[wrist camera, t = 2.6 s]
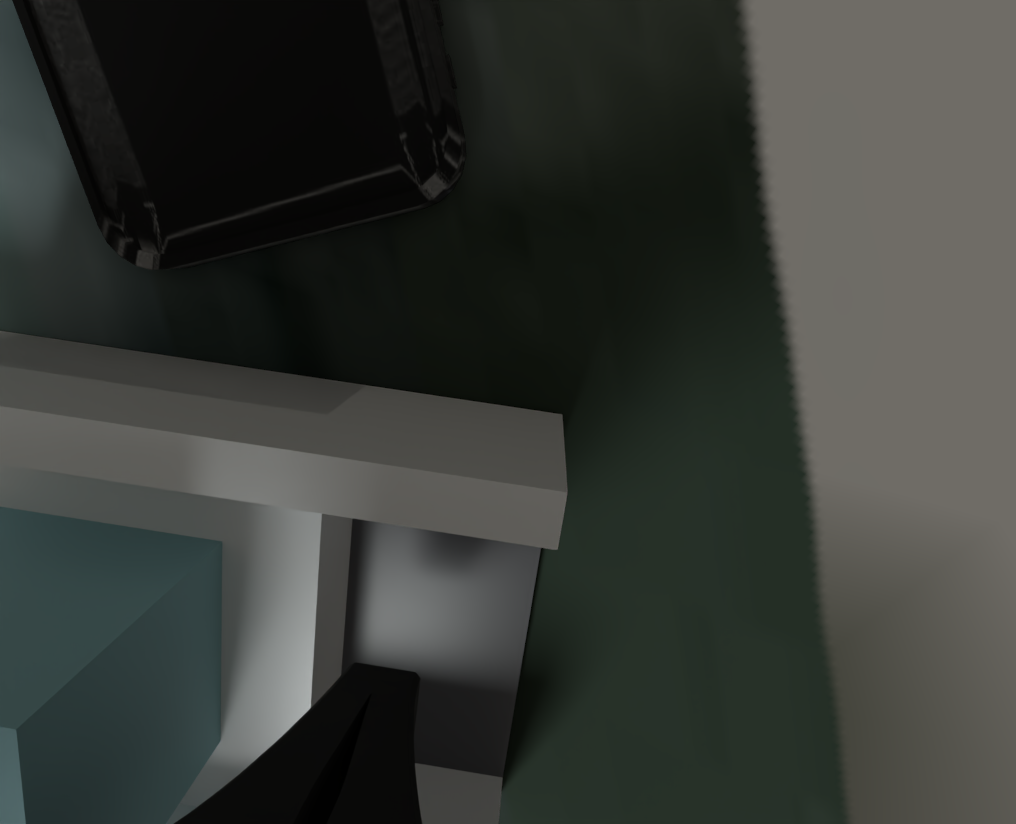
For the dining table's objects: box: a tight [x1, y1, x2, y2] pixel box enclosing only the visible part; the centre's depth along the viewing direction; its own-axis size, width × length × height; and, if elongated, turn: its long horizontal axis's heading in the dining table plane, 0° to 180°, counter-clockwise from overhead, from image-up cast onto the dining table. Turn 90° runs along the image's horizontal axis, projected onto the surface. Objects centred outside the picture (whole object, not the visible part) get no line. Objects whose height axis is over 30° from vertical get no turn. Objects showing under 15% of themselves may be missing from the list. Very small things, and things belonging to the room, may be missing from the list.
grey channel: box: [0, 331, 568, 824], centre depth 14 cm, size 22×11×4 cm, turn 82°
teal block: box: [0, 507, 222, 824], centre depth 11 cm, size 5×5×5 cm
